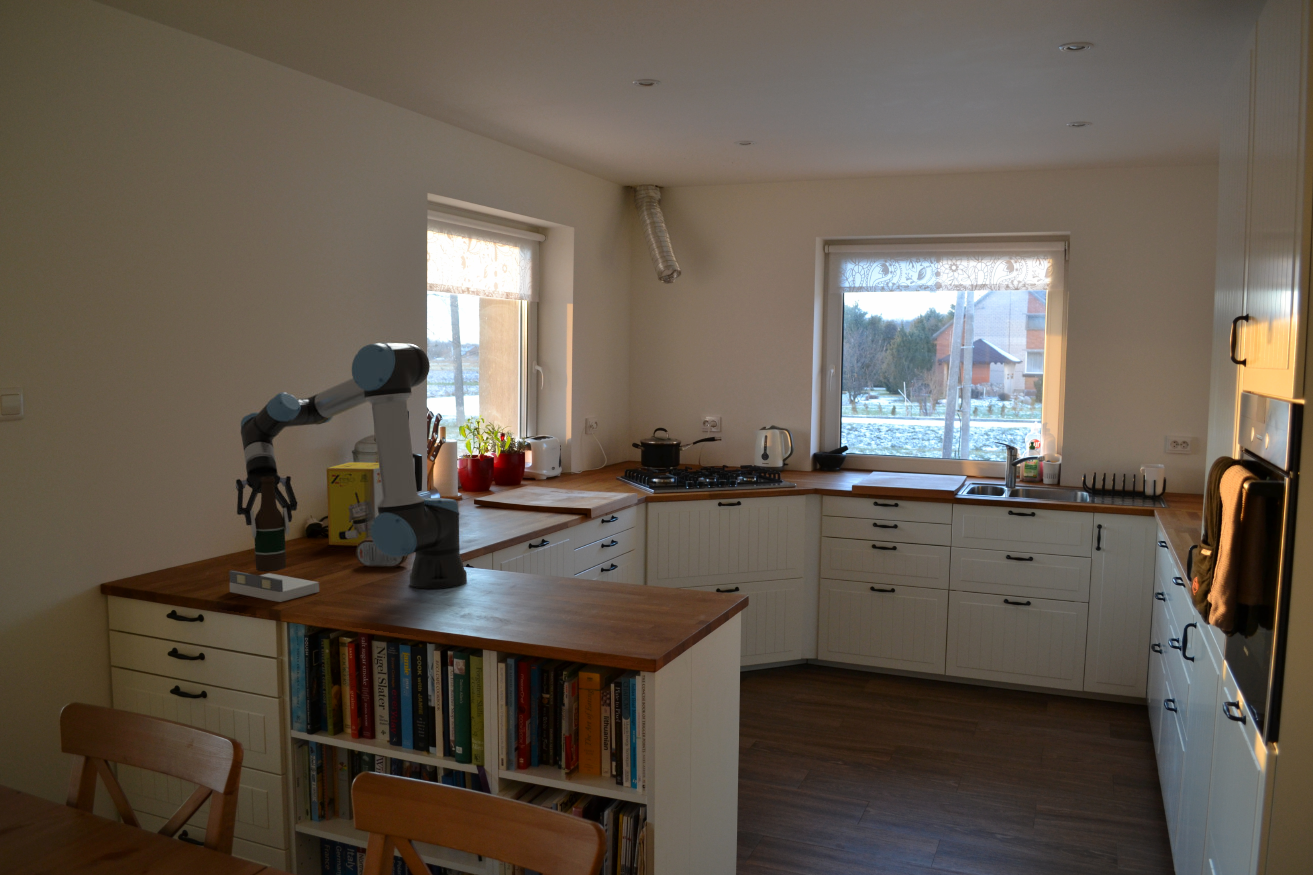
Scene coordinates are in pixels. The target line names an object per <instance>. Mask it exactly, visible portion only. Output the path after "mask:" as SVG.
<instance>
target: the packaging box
mask: <svg viewBox="0 0 1313 875" xmlns="http://www.w3.org/2000/svg"><path fill="white" fill-rule="evenodd" d="M326 488H327V489H326V492H327V493H326V494H327V495H326V496H327V519H328V520H327V521H328V522H327V523H328V545H330V546H331V545H333V546H353V547H354V546H356V547H357V546H358V544H359V543H360V542H361V541H363V540H364V539H366V538H370V537H372V536H371V525H372V523H373V522H374V519H375V518H376V517H377V516H378V506H377V505H378V504H379V502H380V501H381V500H382V498H383V496H382V487H381V479H380V470H379V462H356V461H355V462H354V461H350V462H346V463H342V464H337V465H333V466H330V467H327V468H326Z"/></svg>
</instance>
